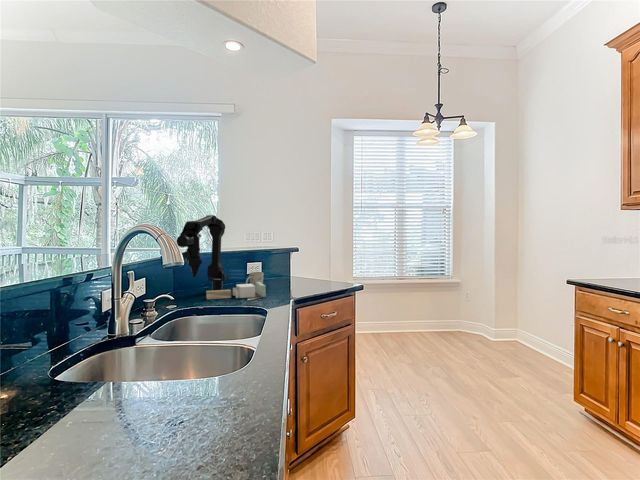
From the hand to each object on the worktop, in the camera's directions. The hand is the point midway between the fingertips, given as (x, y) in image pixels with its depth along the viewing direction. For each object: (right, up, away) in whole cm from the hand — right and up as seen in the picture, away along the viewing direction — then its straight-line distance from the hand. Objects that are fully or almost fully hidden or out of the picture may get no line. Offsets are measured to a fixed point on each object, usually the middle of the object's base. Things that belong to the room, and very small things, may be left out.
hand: (194, 277), depth 187 cm
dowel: (+11, -12, +5) cm, 17 cm away
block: (+23, -11, +10) cm, 27 cm away
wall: (+31, -11, +14) cm, 36 cm away
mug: (+25, -11, +28) cm, 39 cm away
